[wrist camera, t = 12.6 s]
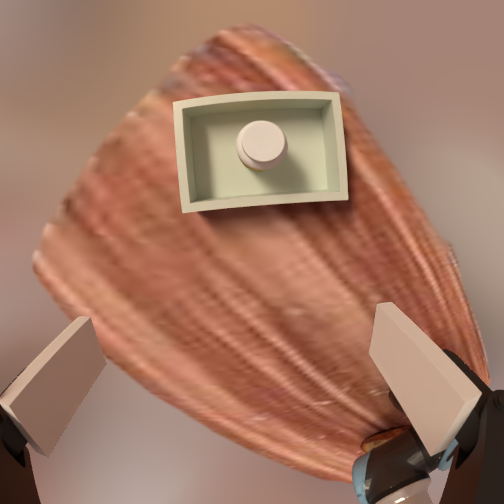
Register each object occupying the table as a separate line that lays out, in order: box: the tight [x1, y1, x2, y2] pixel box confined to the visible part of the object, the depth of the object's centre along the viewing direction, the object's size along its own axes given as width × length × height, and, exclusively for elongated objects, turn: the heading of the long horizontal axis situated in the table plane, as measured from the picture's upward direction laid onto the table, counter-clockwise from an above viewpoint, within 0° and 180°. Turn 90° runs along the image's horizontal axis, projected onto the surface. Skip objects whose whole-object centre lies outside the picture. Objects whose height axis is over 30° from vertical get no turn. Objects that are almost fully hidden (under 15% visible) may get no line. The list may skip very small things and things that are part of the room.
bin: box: [173, 91, 348, 213], centre depth 31 cm, size 13×19×6 cm
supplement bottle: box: [236, 121, 288, 172], centre depth 28 cm, size 5×5×10 cm
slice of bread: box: [361, 425, 413, 453], centre depth 51 cm, size 18×18×4 cm
